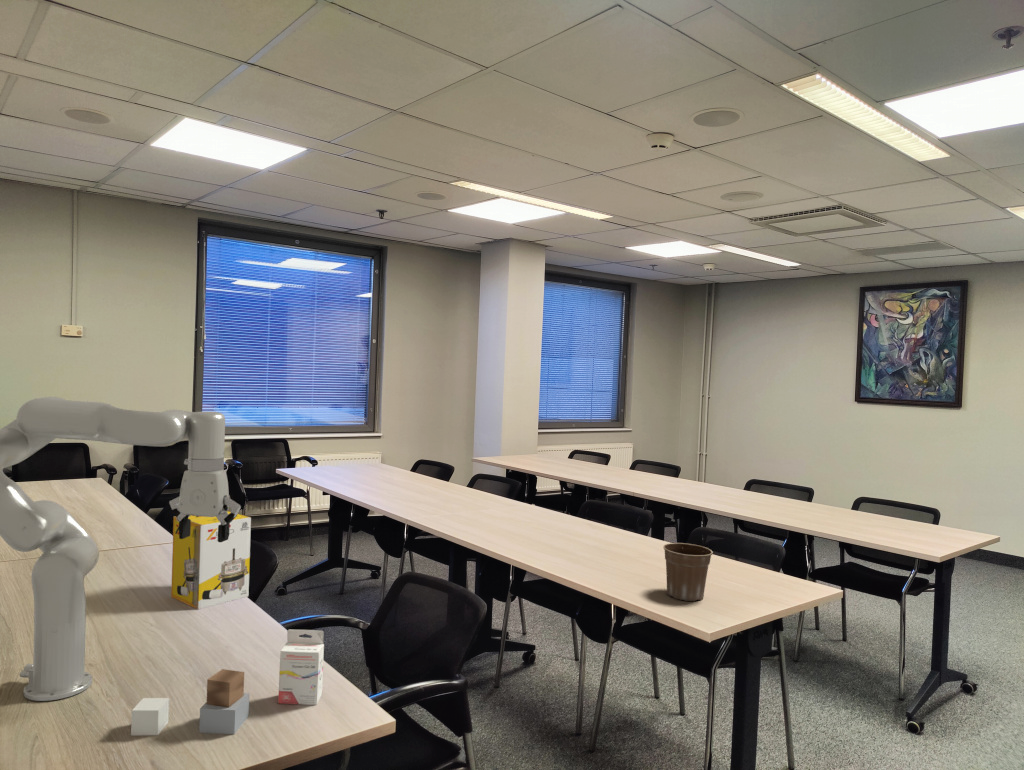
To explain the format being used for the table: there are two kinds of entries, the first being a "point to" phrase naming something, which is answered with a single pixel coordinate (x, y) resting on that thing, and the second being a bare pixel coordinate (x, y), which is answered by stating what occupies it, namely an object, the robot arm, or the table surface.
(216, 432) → the robot arm
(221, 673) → the walnut cube
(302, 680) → the ink cartridge box
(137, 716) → the pale grey cube
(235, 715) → the slate base block
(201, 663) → the table surface
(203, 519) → the packaging box
